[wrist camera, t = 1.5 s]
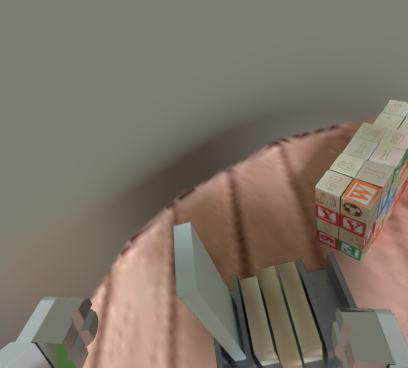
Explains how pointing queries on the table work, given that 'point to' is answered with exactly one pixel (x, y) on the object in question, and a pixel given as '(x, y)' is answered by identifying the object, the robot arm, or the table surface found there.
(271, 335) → the offcut
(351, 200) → the stack of blocks
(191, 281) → the tall panel
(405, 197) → the table surface
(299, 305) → the offcut
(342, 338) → the robot arm
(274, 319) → the offcut
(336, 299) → the slot rack
